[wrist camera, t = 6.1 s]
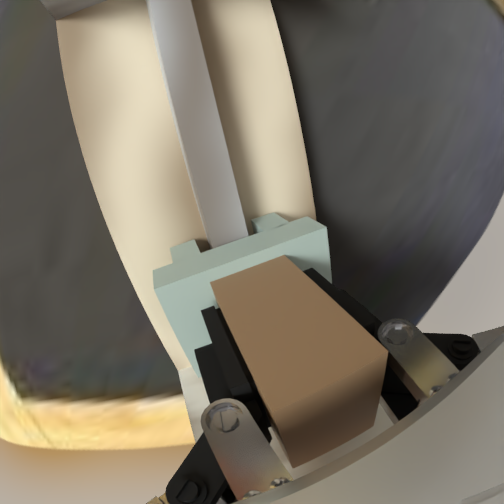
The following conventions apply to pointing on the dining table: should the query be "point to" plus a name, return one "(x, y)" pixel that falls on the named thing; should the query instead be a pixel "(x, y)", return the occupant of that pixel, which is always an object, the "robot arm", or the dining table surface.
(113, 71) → the track
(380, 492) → the robot arm
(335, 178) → the dining table surface
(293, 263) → the carriage
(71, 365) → the dining table surface
